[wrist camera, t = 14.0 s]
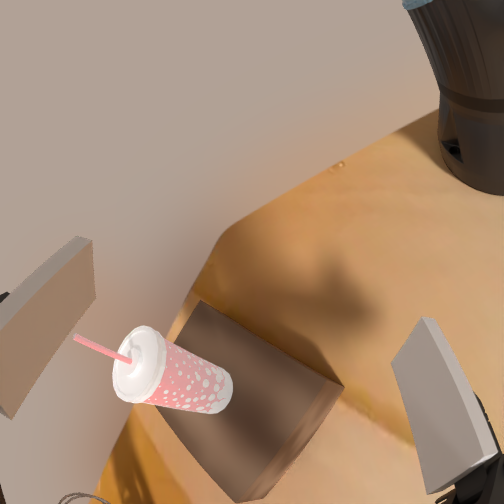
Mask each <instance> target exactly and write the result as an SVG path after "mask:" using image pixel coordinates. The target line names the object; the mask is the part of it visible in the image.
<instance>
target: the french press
mask: <svg viewBox="0 0 504 504" xmlns="http://www.w3.org/2000/svg"><path fill="white" fill-rule="evenodd" d="M73 495H78V496H75V497H72V498H71V499H69V500H68V501H67V502H66V503H65V504H68V503H69V502H70V501H71V500H73V499H76V498H79V497H90V498H95V499H97V500H99V501H101V502H102V503H103V504H106V503H107V504H110V503H109V502H107V501H106V500H104V499H102V498H99V497H96V496H93V495H89V494H84V493H72V494H69V495H66V496H64V497H63V498H62V499H61V500H60V502H59V503H58V504H61V502H62V501H63V500H64V499H66V498H67V497H69V496H73Z"/></svg>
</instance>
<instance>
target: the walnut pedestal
mask: <svg viewBox="0 0 504 504" xmlns="http://www.w3.org/2000/svg"><path fill="white" fill-rule="evenodd" d="M173 344H175V345H177V346H179V347H181V348H183V349H185V350H186V351H188V352H190V353H192V354H194V355H196V356H198V357H200V358H202V359H204V360H206V361H208V362H210V363H212V364H214V365H216V366H218V367H220V368H222V369H224V370H225V371H226V372H228V373H229V374H230V377H231V379H232V382H233V393H232V396H231V399H230V402H229V403H228V404H227V406H226V407H225V408H224V409H223V410H221V411H220V412H218V413H214V414H207V413H200V412H193V411H186V410H180V409H174V408H169V407H163V406H158V405H155V406H156V408H157V409H158V411H159V412H160V414H161V415H162V416H163V418H164V419H165V421H166V422H167V423H168V425H169V426H170V427H171V429H172V430H173V431H174V433H175V434H176V435H177V437H178V438H179V439H180V441H181V442H182V443H183V444H184V446H185V447H186V448H187V449H188V451H189V452H190V453H191V454H192V456H193V457H194V458H195V459H196V460H197V462H198V463H199V464H200V465H201V466H202V468H203V469H204V470H205V471H206V472H207V473H208V474H209V476H210V477H211V478H212V479H213V480H214V481H215V482H216V483H217V484H218V486H219V487H220V488H221V489H222V490H223V491H224V492H225V493H226V494H227V495H228V496H229V497H230V498H231V499H232V500H233V501H234V502H235V503H241V502H247V501H253V500H258V499H263V498H264V497H265V496H266V495H267V494H268V493H269V491H270V490H271V489H272V488H273V487H274V485H275V484H276V483H277V482H278V481H279V479H280V478H281V477H282V476H283V475H284V473H285V472H286V471H287V470H288V468H289V467H290V466H291V465H292V463H293V462H294V461H295V459H296V458H297V457H298V455H299V454H300V453H301V451H302V450H303V449H304V447H305V446H306V445H307V443H308V442H309V440H310V439H311V438H312V436H313V435H314V433H315V432H316V431H317V429H318V428H319V426H320V425H321V423H322V422H323V420H324V419H325V417H326V416H327V414H328V413H329V411H330V410H331V408H332V407H333V405H334V404H335V402H336V400H337V399H338V397H339V396H340V394H341V392H342V391H343V389H344V388H345V387H343V386H342V385H340V384H338V383H336V382H334V381H333V380H331V379H329V378H327V377H325V376H324V375H322V374H320V373H318V372H317V371H315V370H313V369H312V368H310V367H308V366H306V365H305V364H303V363H301V362H300V361H298V360H296V359H295V358H293V357H291V356H290V355H288V354H286V353H285V352H283V351H281V350H280V349H278V348H276V347H275V346H273V345H271V344H270V343H268V342H267V341H265V340H263V339H262V338H260V337H259V336H257V335H255V334H254V333H252V332H251V331H249V330H248V329H246V328H244V327H243V326H241V325H240V324H238V323H237V322H235V321H234V320H232V319H231V318H229V317H227V316H226V315H224V314H223V313H221V312H219V311H218V310H216V309H214V308H213V307H211V306H209V305H208V304H206V303H204V302H203V301H201V300H200V301H199V303H198V305H197V306H196V308H195V309H194V311H193V313H192V314H191V316H190V317H189V319H188V321H187V322H186V324H185V326H184V327H183V329H182V330H181V332H180V334H179V335H178V337H177V339H176V340H175V342H174V343H173Z"/></svg>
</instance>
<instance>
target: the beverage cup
mask: <svg viewBox="0 0 504 504" xmlns="http://www.w3.org/2000/svg"><path fill="white" fill-rule="evenodd" d="M73 340H75V341H77V342H79V343H82V344H84V345H86V346H88V347H90V348H92V349H94V350H97V351H99V352H101V353H103V354H106V355H108V356H110V357H113V358H115V361H114V367H113V374H112V376H113V386H114V389H115V391H116V394H117V396H118V397H119V398H121V399H122V400H124V401H126V402H132V403H142V402H144V403H148V404H153V405H158V406H163V407H169V408H174V409H180V410H186V411H193V412H200V413H207V414H214V413H218V412H220V411H221V410H223V409H224V408H225V407H226V406H227V404H228V403H229V402H230V399H231V396H232V393H233V382H232V379H231V377H230V374H229V373H228V372H226V371H225V370H224V369H222V368H220V367H218V366H216V365H214V364H212V363H210V362H208V361H206V360H204V359H202V358H200V357H198V356H196V355H194V354H192V353H190V352H188V351H186V350H185V349H183V348H181V347H179V346H177V345H175V344H173V343H172V342H170V341H168V340H166V339H164V338H163V337H162V336H161V334H160V333H159V332H158V331H155V330H154V329H153V328H151V327H147V326H140V327H138V328H135V329H134V330H133V331H132V332H130V334H129V335H127V336H126V338H125V339H124V341H123V343H122V344H121V346H120V348H119V350H118V352H114V351H112V350H110V349H108V348H105V347H103V346H101V345H99V344H97V343H95V342H92V341H90V340H88V339H86V338H84V337H82V336H80V335H78V334H76V333H75V334H74V336H73Z"/></svg>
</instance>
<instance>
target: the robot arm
mask: <svg viewBox="0 0 504 504" xmlns="http://www.w3.org/2000/svg"><path fill="white" fill-rule="evenodd" d="M402 1H403V2H402V5H403V7H404V8H405V9H406V10H407V11H408V13H409V15H410V17H411V19H412V21H413V23H414V25H415V28H416V30H417V32H418V34H419V37H420V39H421V41H422V44H423V46H424V49H425V51H426V53H427V56H428V59H429V61H430V64H431V66H432V69H433V72H434V75H435V77H436V80H437V83H438V86H439V90H440V105H439V120H438V140H439V144H440V148H441V152H442V156H443V159H444V161H445V163H446V165H447V166H448V168H449V169H450V170H451V171H452V172H453V173H454V174H455V175H456V176H457V177H458V178H459V179H460V180H462V181H463V182H465V183H466V184H468V185H470V186H471V187H473V188H475V189H478V190H480V191H483V192H486V193H490V194H495V195H502V196H504V0H402ZM95 299H96V294H95V284H94V268H93V250H92V240H89V239H86V238H82V237H79V236H76V237H74V238H73V239H72V240H71V241H69V242H68V243H67V244H66V245H65V246H63V247H62V248H61V249H60V250H58V251H57V252H56V253H55V254H54V255H53V256H51V257H50V258H49V259H48V260H47V261H46V262H44V263H43V264H42V265H41V266H40V267H39V268H38V269H37V270H35V271H34V272H33V273H32V274H31V275H30V276H29V277H28V278H26V279H25V280H24V281H23V282H22V283H21V284H20V285H19V286H18V287H17V288H16V289H15V290H14V291H13V292H12V293H8V292H5V293H4V294H2V295H0V413H1V414H3V415H4V416H6V417H7V418H9V419H10V420H12V419H13V417H14V416H15V414H16V412H17V411H18V409H19V407H20V406H21V404H22V402H23V401H24V399H25V398H26V396H27V394H28V393H29V391H30V390H31V388H32V387H33V385H34V384H35V382H36V380H37V379H38V377H39V376H40V374H41V373H42V371H43V370H44V368H45V367H46V365H47V364H48V362H49V361H50V360H51V358H52V357H53V355H54V354H55V352H56V351H57V350H58V348H59V347H60V345H61V344H62V343H63V341H64V340H65V338H66V337H67V335H68V334H69V333H70V332H71V330H72V329H73V328H74V326H75V325H76V324H77V322H78V320H79V319H80V318H81V317H82V316H83V314H84V313H85V312H86V310H87V309H88V308H89V307H90V305H91V304H92V303H93V301H94V300H95ZM391 365H392V368H393V371H394V374H395V377H396V380H397V383H398V386H399V389H400V392H401V396H402V399H403V402H404V406H405V409H406V412H407V416H408V419H409V423H410V426H411V430H412V434H413V437H414V441H415V445H416V449H417V453H418V457H419V461H420V465H421V470H422V474H423V479H424V483H425V488H426V493H427V495H428V494H433V493H437V492H440V491H443V490H445V489H446V488H448V487H450V486H451V485H453V484H454V485H455V489H453V490H451V491H450V492H448V493H446V494H445V495H443V496H441V497H440V498H438V499H437V500H436V502H435V503H436V504H438V503H439V502H441V501H443V500H445V499H447V500H446V501H444V502H443V503H441V504H504V454H502V451H501V449H500V446H499V444H498V441H497V438H496V436H495V433H494V431H493V428H492V426H491V423H490V422H488V420H489V419H488V416H487V414H486V413H485V409H484V407H483V405H482V403H481V401H480V399H479V398H478V397H477V395H476V394H475V393H474V392H473V390H472V388H471V386H470V384H469V382H468V380H467V378H466V376H465V374H464V372H463V370H462V368H461V366H460V364H459V362H458V360H457V358H456V356H455V354H454V352H453V350H452V349H451V347H450V345H449V343H448V341H447V339H446V338H445V336H444V334H443V332H442V331H441V329H440V327H439V325H438V324H437V322H436V320H435V319H433V318H428V317H422V316H421V318H420V320H419V321H418V323H417V325H416V326H415V328H414V329H413V331H412V332H411V334H410V336H409V337H408V339H407V340H406V342H405V343H404V345H403V346H402V348H401V349H400V351H399V352H398V354H397V355H396V356H395V358H394V359H393V361H392V362H391ZM0 504H6V502H5V499H4V495H3V492H2V489H1V485H0Z"/></svg>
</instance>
